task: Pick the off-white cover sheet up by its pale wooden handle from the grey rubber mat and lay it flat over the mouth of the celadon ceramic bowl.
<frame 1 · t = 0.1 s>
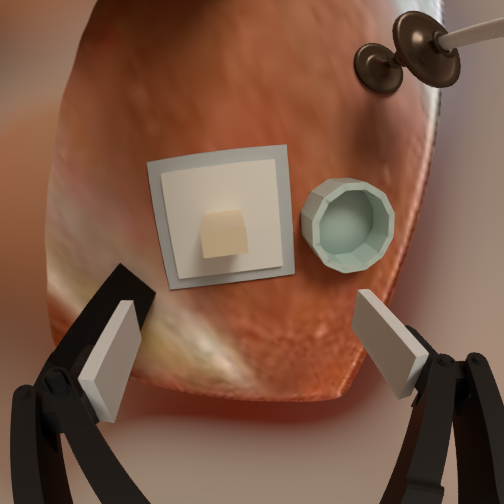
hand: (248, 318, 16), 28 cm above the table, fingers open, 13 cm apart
bowl: (340, 219, 44), on the table
black block: (126, 292, 45), on the table
mat: (223, 219, 42), on the table
candlestick: (377, 68, 36), on the table
cover sheet: (223, 220, 42), point 1 cm above the table, touching mat
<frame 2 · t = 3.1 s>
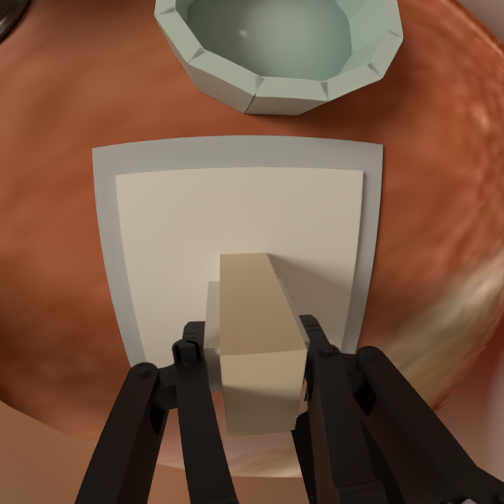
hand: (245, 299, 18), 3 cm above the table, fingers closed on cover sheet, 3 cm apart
bowl: (270, 29, 15), on the table
black block: (333, 414, 28), on the table
mat: (242, 279, 21), on the table
candlestick: (2, 12, 10), on the table
cover sheet: (242, 283, 20), point 1 cm above the table, touching gripper, mat
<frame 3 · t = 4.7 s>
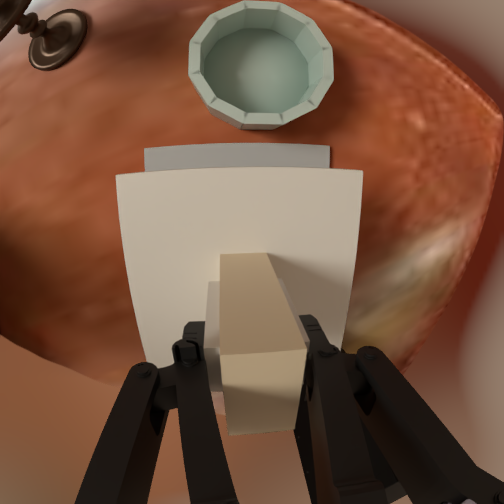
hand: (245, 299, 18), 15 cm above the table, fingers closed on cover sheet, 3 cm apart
bowl: (256, 73, 26), on the table
black block: (311, 352, 39), on the table
mat: (238, 233, 32), on the table
candlestick: (58, 40, 22), on the table
cover sheet: (242, 282, 20), point 13 cm above the table, touching gripper
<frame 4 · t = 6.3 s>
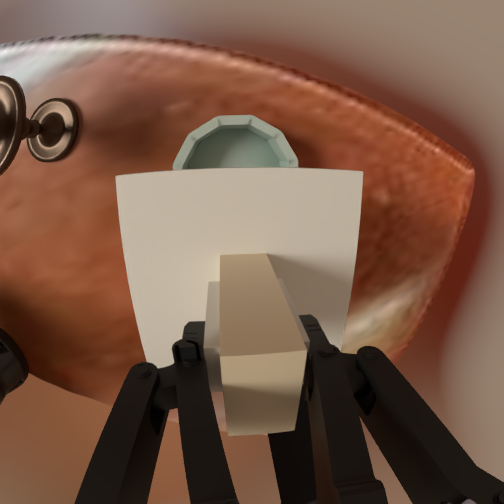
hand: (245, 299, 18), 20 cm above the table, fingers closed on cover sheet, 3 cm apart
bowl: (233, 173, 35), on the table
black block: (288, 384, 48), on the table
candlestick: (53, 130, 30), on the table
cover sheet: (242, 283, 20), point 17 cm above the table, touching gripper
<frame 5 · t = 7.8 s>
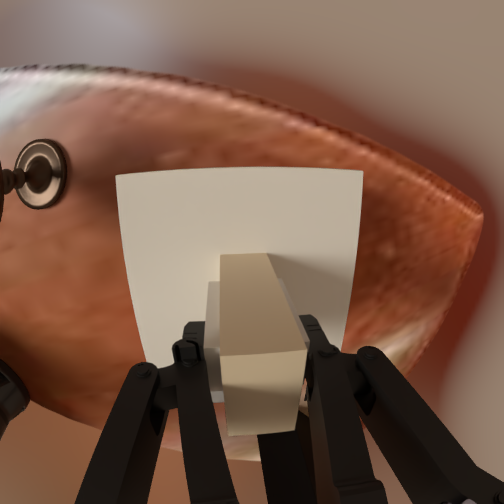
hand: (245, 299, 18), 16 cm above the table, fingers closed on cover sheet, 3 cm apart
black block: (284, 420, 46), on the table
candlestick: (41, 173, 28), on the table
cover sheet: (242, 283, 20), point 14 cm above the table, touching gripper
when the fingers open (10 cm above the table, at t = 9.4 s): cover sheet drops 1 cm, resting on bowl.
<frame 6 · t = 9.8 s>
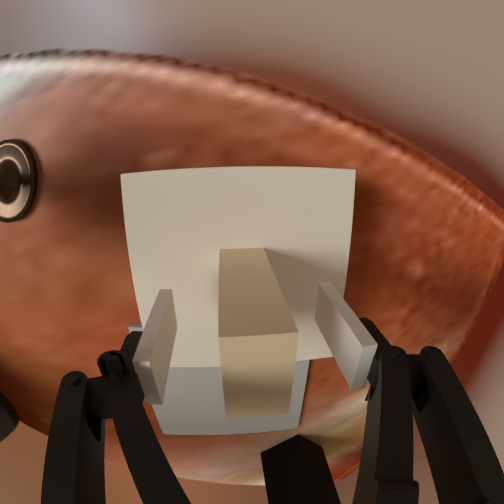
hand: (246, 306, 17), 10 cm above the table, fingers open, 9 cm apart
black block: (291, 449, 40), on the table
mat: (225, 388, 33), on the table
candlestick: (10, 180, 22), on the table
cover sheet: (241, 277, 21), point 6 cm above the table, touching bowl
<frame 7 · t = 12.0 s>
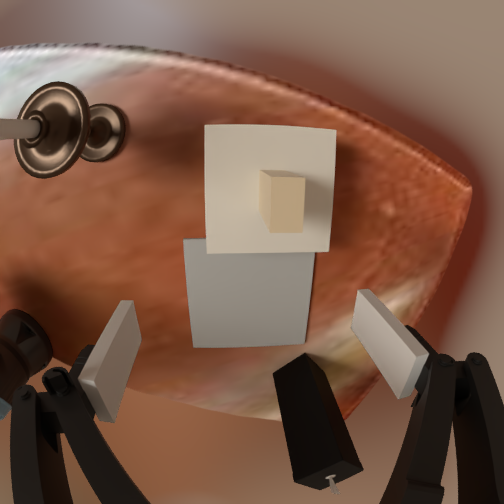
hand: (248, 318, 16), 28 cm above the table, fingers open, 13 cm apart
black block: (298, 371, 54), on the table
mat: (249, 296, 47), on the table
candlestick: (99, 132, 36), on the table
cover sheet: (270, 189, 35), point 6 cm above the table, touching bowl
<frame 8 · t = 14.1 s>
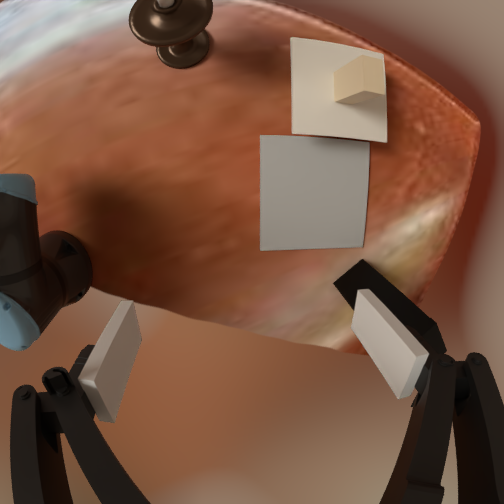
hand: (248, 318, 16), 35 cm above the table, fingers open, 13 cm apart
black block: (355, 282, 56), on the table
mat: (316, 193, 49), on the table
candlestick: (183, 46, 38), on the table
cover sheet: (340, 89, 38), point 6 cm above the table, touching bowl
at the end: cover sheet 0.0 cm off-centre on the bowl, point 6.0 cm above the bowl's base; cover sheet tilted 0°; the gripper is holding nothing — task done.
